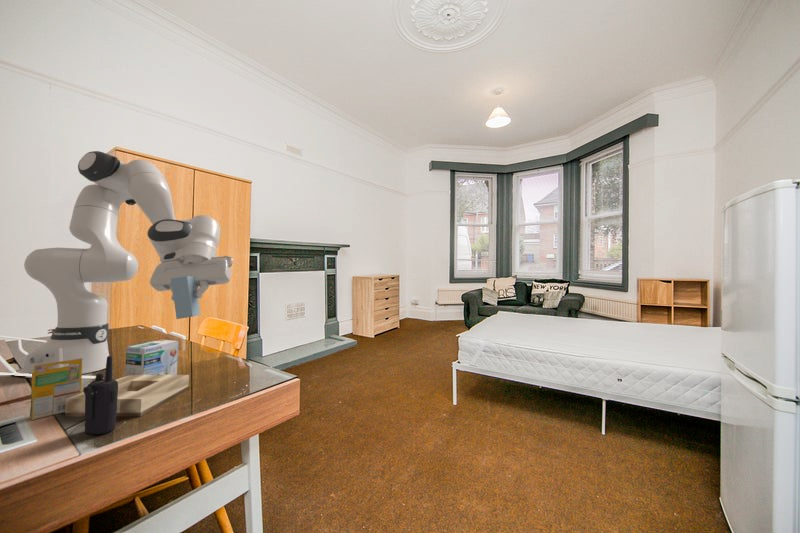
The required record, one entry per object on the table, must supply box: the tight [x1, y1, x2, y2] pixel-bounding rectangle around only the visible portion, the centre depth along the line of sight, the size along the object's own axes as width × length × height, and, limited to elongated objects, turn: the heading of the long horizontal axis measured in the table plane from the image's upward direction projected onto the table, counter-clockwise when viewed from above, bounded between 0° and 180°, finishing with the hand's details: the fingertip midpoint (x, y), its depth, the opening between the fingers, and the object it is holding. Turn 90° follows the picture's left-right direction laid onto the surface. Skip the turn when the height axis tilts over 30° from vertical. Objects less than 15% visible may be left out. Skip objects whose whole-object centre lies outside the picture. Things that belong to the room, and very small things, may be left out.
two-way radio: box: [82, 355, 118, 435], centre depth 59 cm, size 6×4×15 cm
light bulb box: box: [124, 339, 179, 376], centre depth 89 cm, size 11×7×11 cm, turn 168°
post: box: [171, 276, 201, 320], centre depth 82 cm, size 4×4×11 cm
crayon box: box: [29, 358, 83, 421], centre depth 67 cm, size 7×3×12 cm, turn 145°
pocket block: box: [64, 374, 190, 418], centre depth 74 cm, size 16×16×4 cm
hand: (186, 298), depth 82 cm, fingers closed on post, 4 cm apart
